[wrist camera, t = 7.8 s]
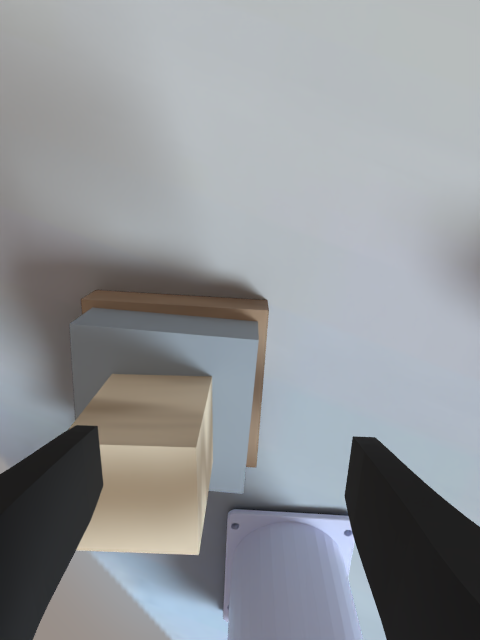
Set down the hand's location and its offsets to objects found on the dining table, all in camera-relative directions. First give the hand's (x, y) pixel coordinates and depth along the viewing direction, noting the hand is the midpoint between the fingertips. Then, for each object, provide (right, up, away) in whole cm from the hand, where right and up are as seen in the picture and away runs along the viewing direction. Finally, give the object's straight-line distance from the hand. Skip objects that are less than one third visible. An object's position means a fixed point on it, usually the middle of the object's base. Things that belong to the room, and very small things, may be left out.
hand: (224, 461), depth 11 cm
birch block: (-3, -1, +7) cm, 7 cm away
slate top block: (-3, 0, +9) cm, 10 cm away
